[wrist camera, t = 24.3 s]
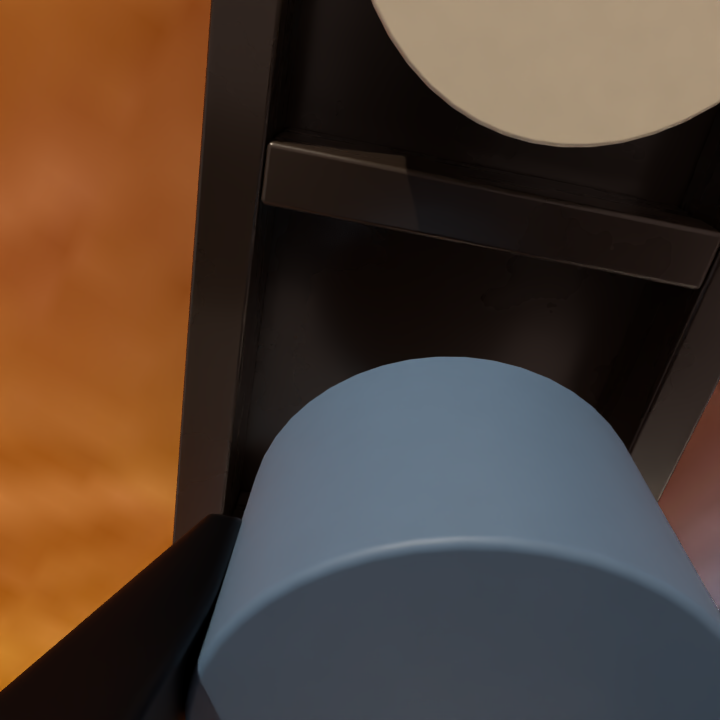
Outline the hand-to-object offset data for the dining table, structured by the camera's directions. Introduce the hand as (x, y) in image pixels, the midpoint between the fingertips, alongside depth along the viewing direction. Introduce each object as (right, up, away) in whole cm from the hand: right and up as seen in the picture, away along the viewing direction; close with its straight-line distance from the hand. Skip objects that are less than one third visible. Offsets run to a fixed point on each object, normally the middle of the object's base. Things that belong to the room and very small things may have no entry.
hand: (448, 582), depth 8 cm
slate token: (0, +1, +1) cm, 1 cm away
